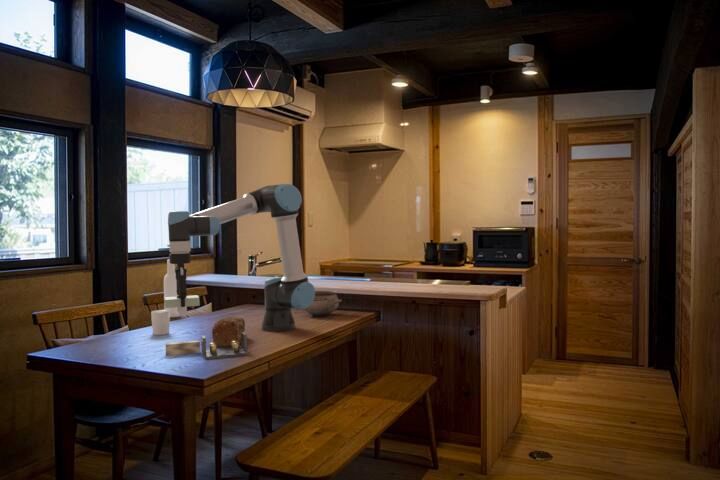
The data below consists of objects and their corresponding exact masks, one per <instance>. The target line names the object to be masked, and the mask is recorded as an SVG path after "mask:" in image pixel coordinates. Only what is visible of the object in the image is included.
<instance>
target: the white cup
mask: <svg viewBox="0 0 720 480" xmlns="http://www.w3.org/2000/svg"><path fill="white" fill-rule="evenodd" d="M150 318H151V327H152V334H153V335H154V336H162V335H168V334H169V333H170V324H171V323H170V322H171V319H170V310H164V309H158V310H157V309H156V310H152V311H151V312H150Z"/></svg>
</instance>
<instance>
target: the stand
mask: <svg viewBox="0 0 720 480" xmlns="http://www.w3.org/2000/svg"><path fill="white" fill-rule="evenodd" d="M200 341H201V340H188V341H187V340H186V341H176V342H168V343H167V342H165V356H168V357H169V356H177V355H186V354H187V355H189V354H197V353H201V342H200Z"/></svg>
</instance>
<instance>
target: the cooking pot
mask: <svg viewBox="0 0 720 480" xmlns="http://www.w3.org/2000/svg"><path fill="white" fill-rule="evenodd" d="M337 293H338V291H337V290H331V289H315V297H314V300H313V301H312V303H311V304H310V305H309V306H308V307H307V308H303V310H304V311H305V312H307V313H309V314H310V315H312V316H313V317H317V318H319V317H320V318H321V317H323V318H324V317H328V316H329V315H330V314H332V313H334V311H336V310H337V309H338V307H339V303H342V301H343V300H342V299H339V298H338V295H337Z"/></svg>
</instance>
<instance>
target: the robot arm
mask: <svg viewBox="0 0 720 480" xmlns="http://www.w3.org/2000/svg"><path fill="white" fill-rule="evenodd" d="M302 198H303V197H302V195H301V192H300V190H299V189H298V188H297V187H296V186H295V185H292V184H289V183H281V184H273V185H271V184H270V185H266V186H262V187H260V188H258V189H255V190H252V191H250V192H248V193H245V194H244V195H243V197H240V198H237V199H234V200H231V201H228V202H225V203H222V204H220V205H216V206H213V207H210V208H207V209H204V210H201V211H198V212H195V213H192V214H190V212H189V211H188V210H187V211H186V210H172V211H169V213H168V214H167V226H168V244H167V245H166V246H167V247H168V248H169V250H168V251H169V252H170V254H169V255H168V257H169V259H170V263H171V264H175V265H176V266H175V273H176V283H177V291H176V292H177V298H179V307H177V309H178V313H179V317H184V316H188V307H187V300H186V297H187V296H188V294H187V273H188V272H187V269H188V268H186V267H185V264H190V263H191V262H192V256H191V255H192V254H191V251H192V250H191V248H192V247H191V237H201V236H202V237H207V236H208V237H210V236H216V235H218V234H219V232H220V228H221V225H222V224H225V223H228V222H230V221H233V220H237V219H238V218H242V217H244V216H248V215H251V216H252V215H253V216H254V215H257V214H261V213H270V216H271V218H272V219H273V220H274V221H275V227H276V232H277V238H278V239H277V240H278V246H279V251H280V252H279V253H280V257H281V265H282V271H283V276H281V277H275V278H268V279H265V280H264V284H263V285H264V287H263V289H264V291H263V292H264V314H263V317H262V321H261V330H262V331H267V332H283V331H285V332H286V331H291V330H294V329H296V322H295V319H294V316H293V313H292V308H293V309H297V310H299V309H301V310H302V309H303V310H304V308H307V307H308V306H309V305H310V304H311V303H312V301H313V300H314V297H315V290H316V288H315V286H314V285H313V284H312V283H311V282H309V277H308V275H307V274H306V273H305V272H304V268H303V260H302V255H301V254H302V253H301V247H300V239H299V234H298V227H297V226H298V225H297V220H296V219H297V216H298V215H299V209H300V208H301V205H302V203H303V202H302V200H303V199H302Z"/></svg>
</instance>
